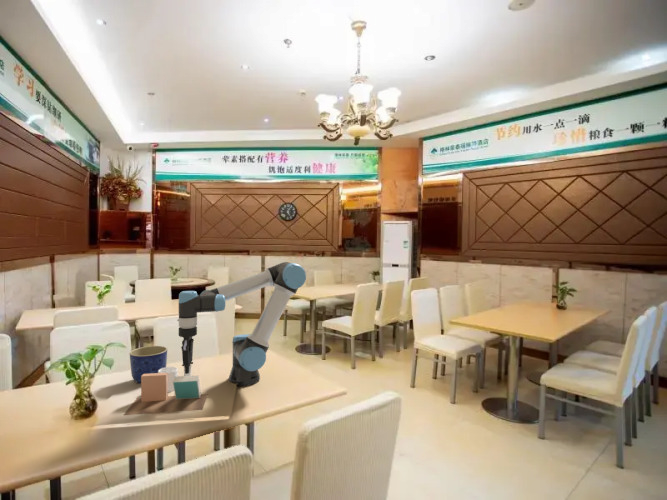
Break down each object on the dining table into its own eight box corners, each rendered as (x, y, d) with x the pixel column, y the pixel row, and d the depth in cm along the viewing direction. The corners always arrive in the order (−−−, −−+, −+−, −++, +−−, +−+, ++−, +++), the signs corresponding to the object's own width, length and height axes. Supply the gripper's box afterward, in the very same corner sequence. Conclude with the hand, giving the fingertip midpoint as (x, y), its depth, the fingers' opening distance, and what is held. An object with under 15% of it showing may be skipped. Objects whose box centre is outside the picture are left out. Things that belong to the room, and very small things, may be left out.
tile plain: (167, 397, 165) (167, 372, 165) (166, 400, 162) (165, 375, 162) (143, 398, 164) (143, 373, 163) (141, 401, 161) (141, 376, 160)
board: (208, 396, 169) (208, 393, 169) (202, 412, 154) (202, 409, 154) (137, 400, 164) (137, 398, 164) (123, 418, 148) (123, 415, 148)
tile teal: (200, 392, 167) (198, 375, 162) (199, 398, 165) (197, 381, 159) (177, 394, 166) (174, 376, 160) (175, 399, 163) (172, 382, 158)
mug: (150, 398, 167) (149, 375, 167) (148, 391, 174) (148, 369, 174) (178, 393, 173) (178, 370, 173) (176, 386, 180) (176, 365, 180)
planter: (170, 382, 185) (170, 352, 185) (131, 390, 176) (131, 358, 175) (164, 372, 199) (164, 344, 199) (127, 378, 190) (127, 349, 189)
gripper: (182, 323, 170) (182, 374, 170) (175, 330, 157) (174, 386, 158) (199, 323, 171) (199, 374, 172) (193, 329, 158) (193, 385, 159)
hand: (187, 379), depth 165 cm, fingers closed
